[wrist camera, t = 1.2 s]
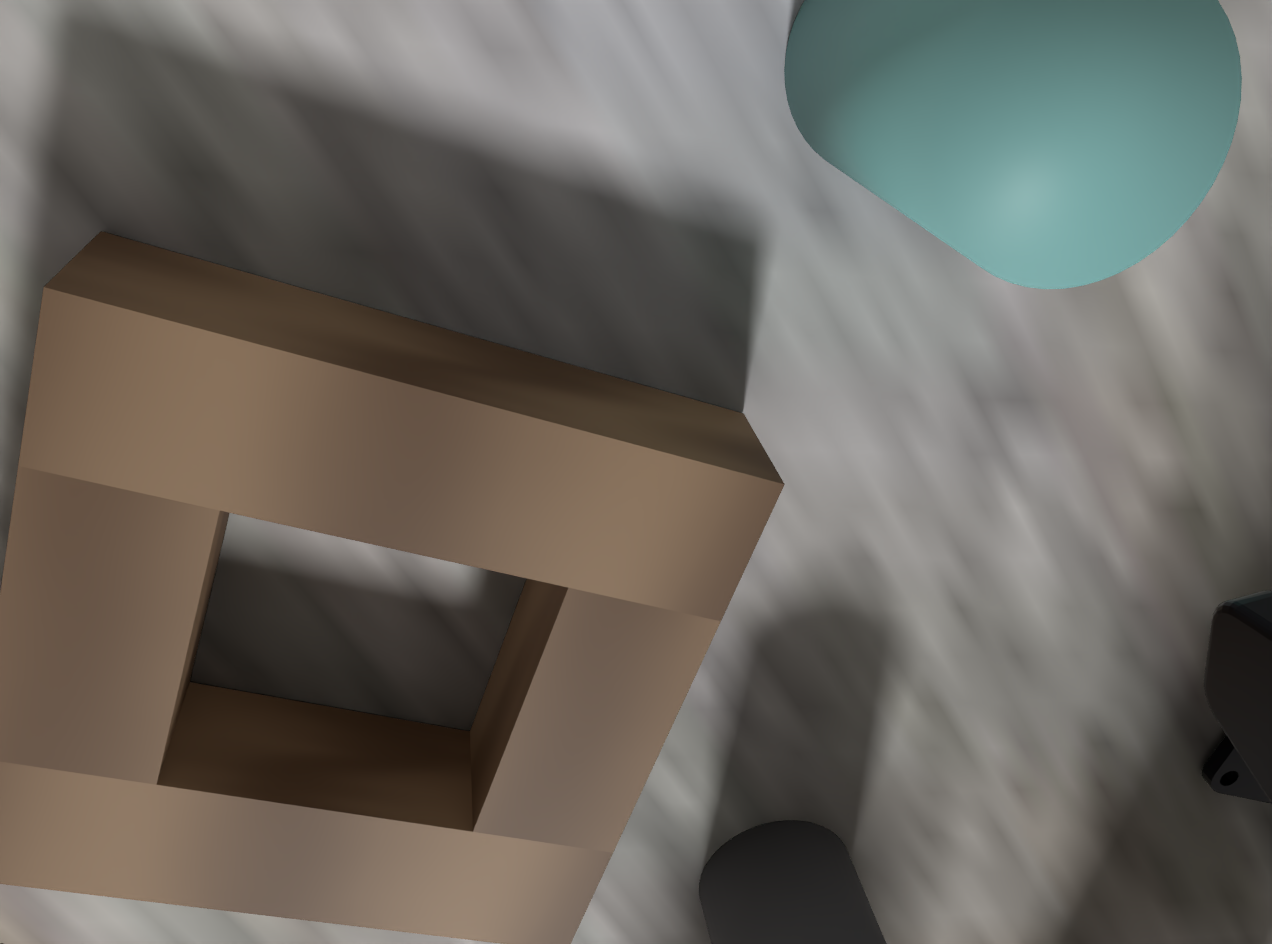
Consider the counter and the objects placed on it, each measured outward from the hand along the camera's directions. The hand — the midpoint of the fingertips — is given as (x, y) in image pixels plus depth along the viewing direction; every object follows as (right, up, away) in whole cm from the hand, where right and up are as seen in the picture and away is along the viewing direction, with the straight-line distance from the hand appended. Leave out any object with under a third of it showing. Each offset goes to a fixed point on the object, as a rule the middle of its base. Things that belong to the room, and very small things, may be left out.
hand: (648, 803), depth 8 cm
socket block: (-6, 0, +14) cm, 15 cm away
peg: (+4, +10, +11) cm, 15 cm away
